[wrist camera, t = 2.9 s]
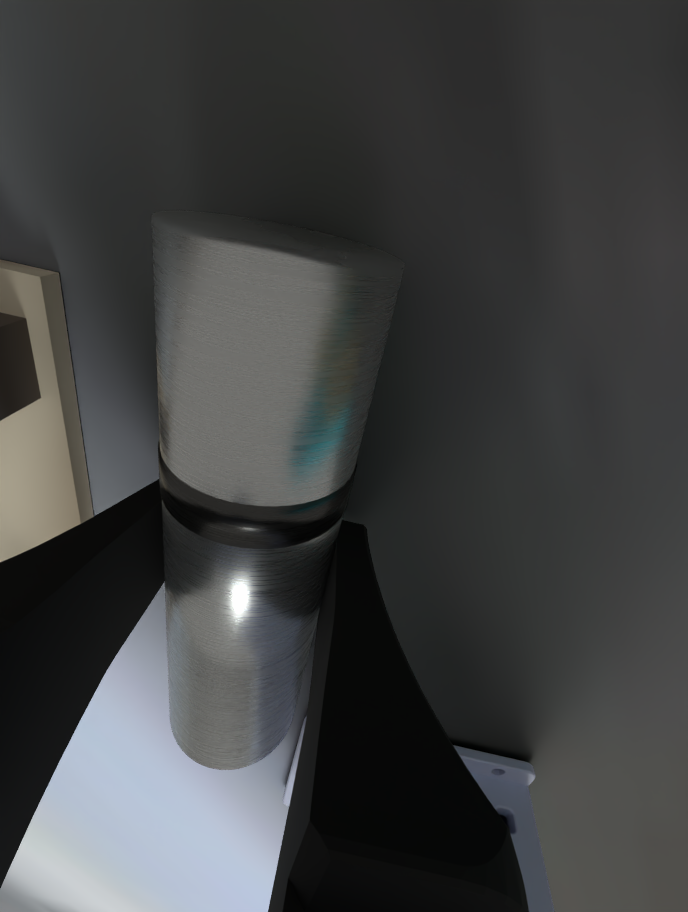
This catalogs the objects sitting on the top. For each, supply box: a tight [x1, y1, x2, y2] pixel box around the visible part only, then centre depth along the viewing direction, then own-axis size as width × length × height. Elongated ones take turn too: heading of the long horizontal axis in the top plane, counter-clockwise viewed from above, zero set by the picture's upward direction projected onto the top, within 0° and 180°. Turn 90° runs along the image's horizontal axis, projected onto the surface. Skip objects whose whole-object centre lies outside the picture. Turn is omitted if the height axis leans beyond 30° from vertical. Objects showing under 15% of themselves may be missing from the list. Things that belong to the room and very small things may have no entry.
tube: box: [152, 210, 405, 770], centre depth 11 cm, size 14×4×4 cm, turn 169°
